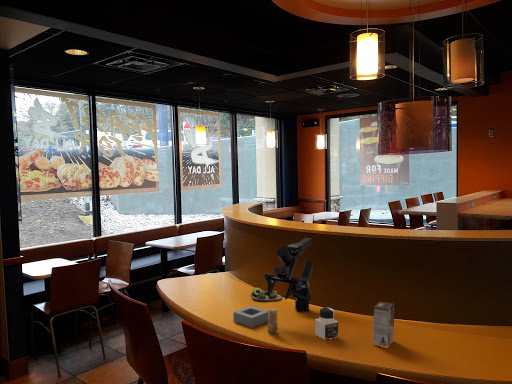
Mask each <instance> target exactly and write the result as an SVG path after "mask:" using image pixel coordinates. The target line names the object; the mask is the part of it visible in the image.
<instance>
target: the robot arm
mask: <svg viewBox="0 0 512 384" xmlns="http://www.w3.org/2000/svg"><path fill="white" fill-rule="evenodd" d="M311 245H312V238H306V237H304V238H303V239H301V240H300V241H298V242H296V243H290V244H288V245H286V244H283V245H282V246H281V247H279V248H278V249H277V250H276V256H277V257H278V258H279V260H280V261H281V262H282V263H283V264H282V265H280V266H273V272H272V273H268V272H266V273H264V275H263V280H264V281H265V282H266V283H267V291H268V296H270V294H271V292H272V290H274V287H275V286H276V282H277V283H283V284H287V285H288V288H287V290H286V292H285V296H284V300H288V299H289V298H290V296H292V297H293V298H295V300H294V309H295V310H296V312H311V311H310V300H312V299H313V292H312V291H311V285H310V280H311V277H312V274H313V272H314V269H313V262H311V261H310V260H309V261H308V260H307V259H306V261H305V262H304V267H303V269H302V271H301V274H300V278H298V277H297V278H296V277H292V276H294V269H295V267H296V266H297V265H298V263H299V262H298V260H297V259H296V258H300V257H302V256H303V254H304V252H305V250H306V249H308V247H309V246H311ZM274 274H275V275H274ZM275 276H276V277H275Z"/></svg>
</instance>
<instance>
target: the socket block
mask: <svg viewBox="0 0 512 384" xmlns="http://www.w3.org/2000/svg"><path fill="white" fill-rule="evenodd" d="M233 322H234V323H237V324H241V325H243V326H246V327H249V328H251V329H252V328H255V327H258V326H259V325H260V326H261V325H262V324H265V323H268V310H265V309H261V308H259V307H256V306H253V305H249V306H246V307H244V308H241V309H238V310H236V311H233Z"/></svg>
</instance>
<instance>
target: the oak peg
mask: <svg viewBox="0 0 512 384" xmlns="http://www.w3.org/2000/svg"><path fill="white" fill-rule="evenodd" d="M267 311H268V321H267V333H268V334H269V335H276V334H277V333H278V309H277V308H268V309H267Z"/></svg>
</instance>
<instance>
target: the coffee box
mask: <svg viewBox="0 0 512 384" xmlns="http://www.w3.org/2000/svg"><path fill="white" fill-rule="evenodd" d="M372 321H373V324H372V325H373V327H372V328H373V329H372V330H373V331H372V332H373V333H372V336H373V337H372V340H373V343H374V344H378V345H383V346H389V345H390V344H391V342H392V341H393V339H394V340H395V338H394V337H395V335H394V334H395V303H392V302H386V301H385V302H384V301H378V302H377V303H376V304H375V305H374V306H373V320H372ZM393 342H394V341H393ZM373 343H372V344H373ZM391 345H392V344H391Z"/></svg>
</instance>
